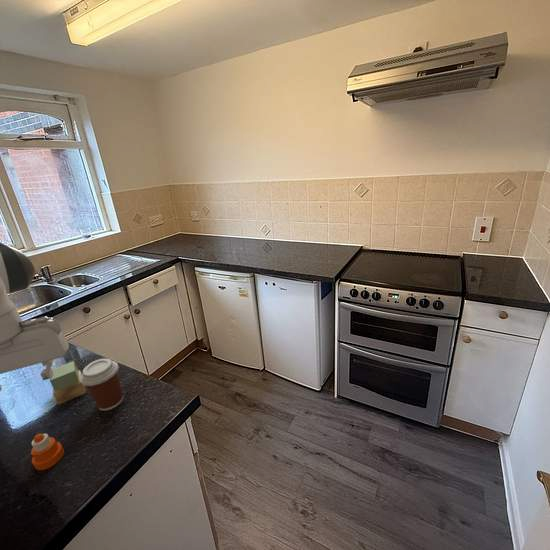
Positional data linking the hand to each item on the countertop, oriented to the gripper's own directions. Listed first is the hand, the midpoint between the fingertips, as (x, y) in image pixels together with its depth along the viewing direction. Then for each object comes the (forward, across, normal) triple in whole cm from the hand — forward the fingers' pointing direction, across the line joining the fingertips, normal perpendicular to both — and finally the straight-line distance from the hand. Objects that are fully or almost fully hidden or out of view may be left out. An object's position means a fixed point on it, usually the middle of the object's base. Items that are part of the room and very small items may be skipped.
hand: (23, 384), depth 63 cm
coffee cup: (+20, -10, -12) cm, 25 cm away
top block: (+15, +2, -22) cm, 27 cm away
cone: (+19, +1, +2) cm, 19 cm away
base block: (+19, +2, -22) cm, 29 cm away
